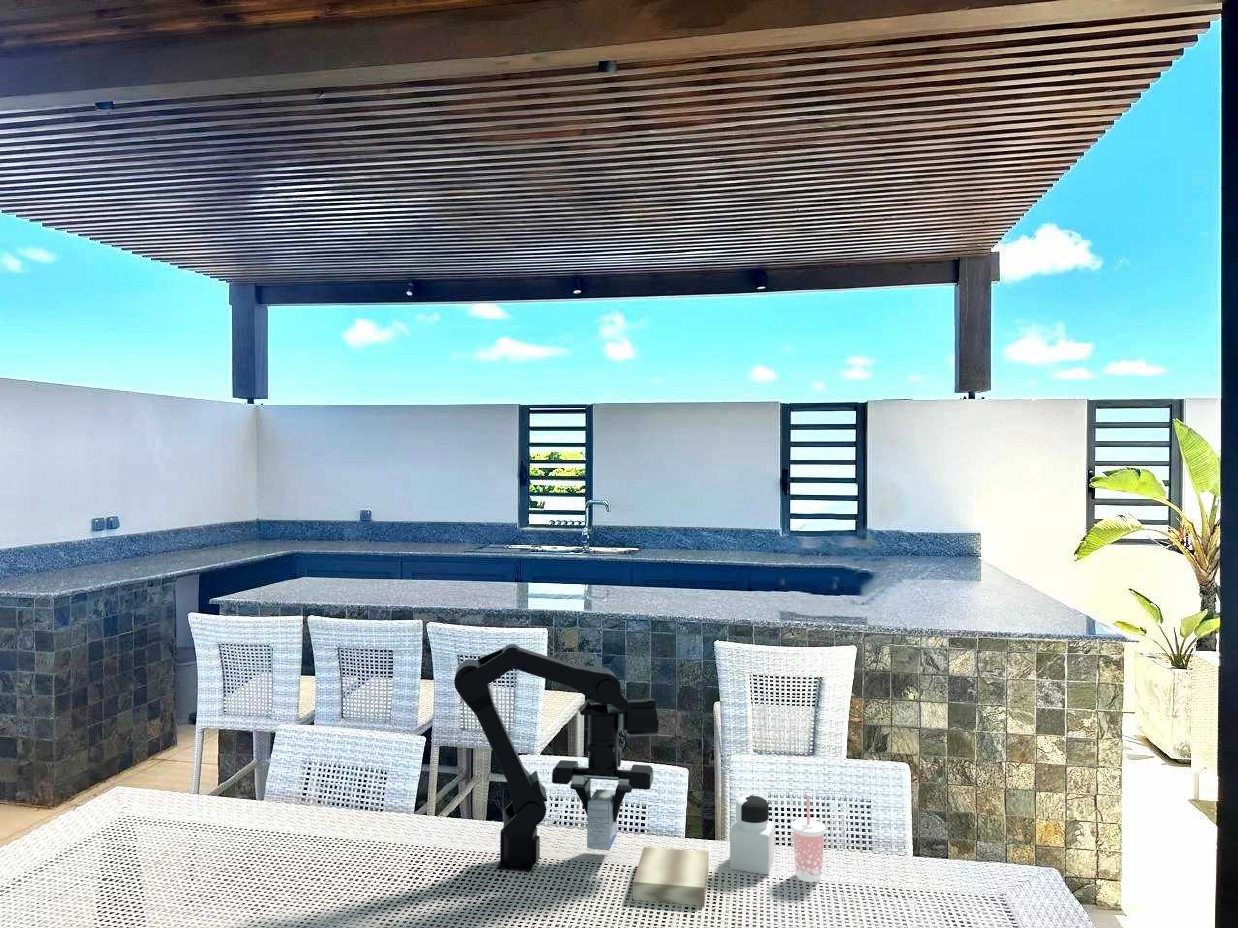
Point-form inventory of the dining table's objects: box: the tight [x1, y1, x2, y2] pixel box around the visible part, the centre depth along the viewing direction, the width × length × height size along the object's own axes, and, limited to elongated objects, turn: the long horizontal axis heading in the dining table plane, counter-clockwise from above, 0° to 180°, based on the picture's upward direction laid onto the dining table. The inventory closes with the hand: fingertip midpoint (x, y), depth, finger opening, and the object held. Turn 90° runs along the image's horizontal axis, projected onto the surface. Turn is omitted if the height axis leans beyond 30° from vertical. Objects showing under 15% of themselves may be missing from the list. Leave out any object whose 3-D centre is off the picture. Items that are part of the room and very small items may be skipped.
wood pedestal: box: [632, 846, 709, 907], centre depth 141 cm, size 12×14×3 cm
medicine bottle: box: [729, 794, 775, 875], centre depth 149 cm, size 7×7×12 cm
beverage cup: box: [790, 796, 827, 883], centre depth 144 cm, size 6×6×14 cm
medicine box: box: [586, 788, 618, 851], centre depth 151 cm, size 8×4×9 cm, turn 171°
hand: (602, 820), depth 151 cm, fingers closed on medicine box, 4 cm apart
